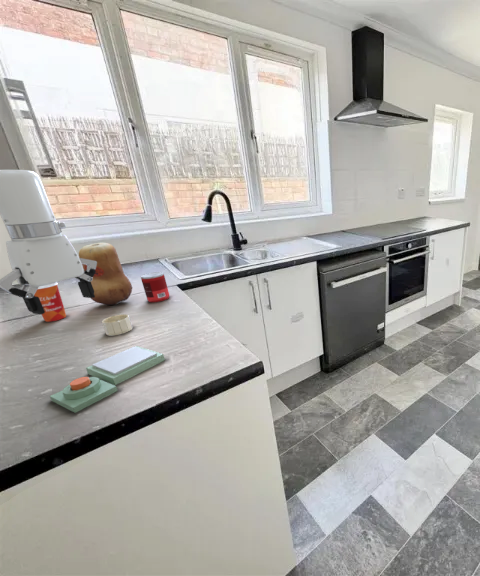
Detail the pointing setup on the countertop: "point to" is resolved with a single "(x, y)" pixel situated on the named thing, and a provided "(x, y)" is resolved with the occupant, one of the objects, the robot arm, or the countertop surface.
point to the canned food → (155, 286)
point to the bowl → (117, 324)
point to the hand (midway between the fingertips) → (65, 304)
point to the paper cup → (51, 302)
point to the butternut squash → (106, 274)
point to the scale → (125, 364)
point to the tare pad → (83, 395)
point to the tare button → (80, 383)
